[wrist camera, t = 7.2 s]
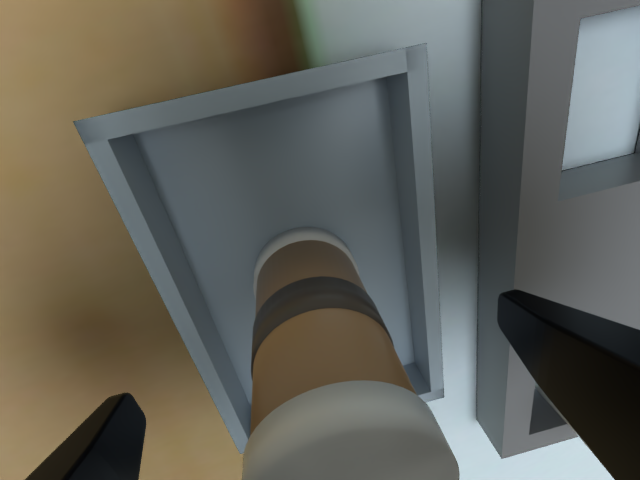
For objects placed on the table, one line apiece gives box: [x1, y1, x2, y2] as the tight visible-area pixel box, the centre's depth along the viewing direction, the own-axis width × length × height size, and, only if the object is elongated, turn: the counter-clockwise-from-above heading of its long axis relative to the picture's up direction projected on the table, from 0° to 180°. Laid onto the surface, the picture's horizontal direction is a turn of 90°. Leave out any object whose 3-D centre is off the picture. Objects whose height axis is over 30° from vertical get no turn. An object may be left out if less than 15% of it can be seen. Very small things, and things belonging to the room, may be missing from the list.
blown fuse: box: [242, 227, 459, 480], centre depth 8 cm, size 3×3×7 cm
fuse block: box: [477, 0, 640, 459], centre depth 12 cm, size 18×7×2 cm, turn 11°
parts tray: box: [73, 43, 444, 454], centre depth 11 cm, size 12×8×2 cm, turn 11°
